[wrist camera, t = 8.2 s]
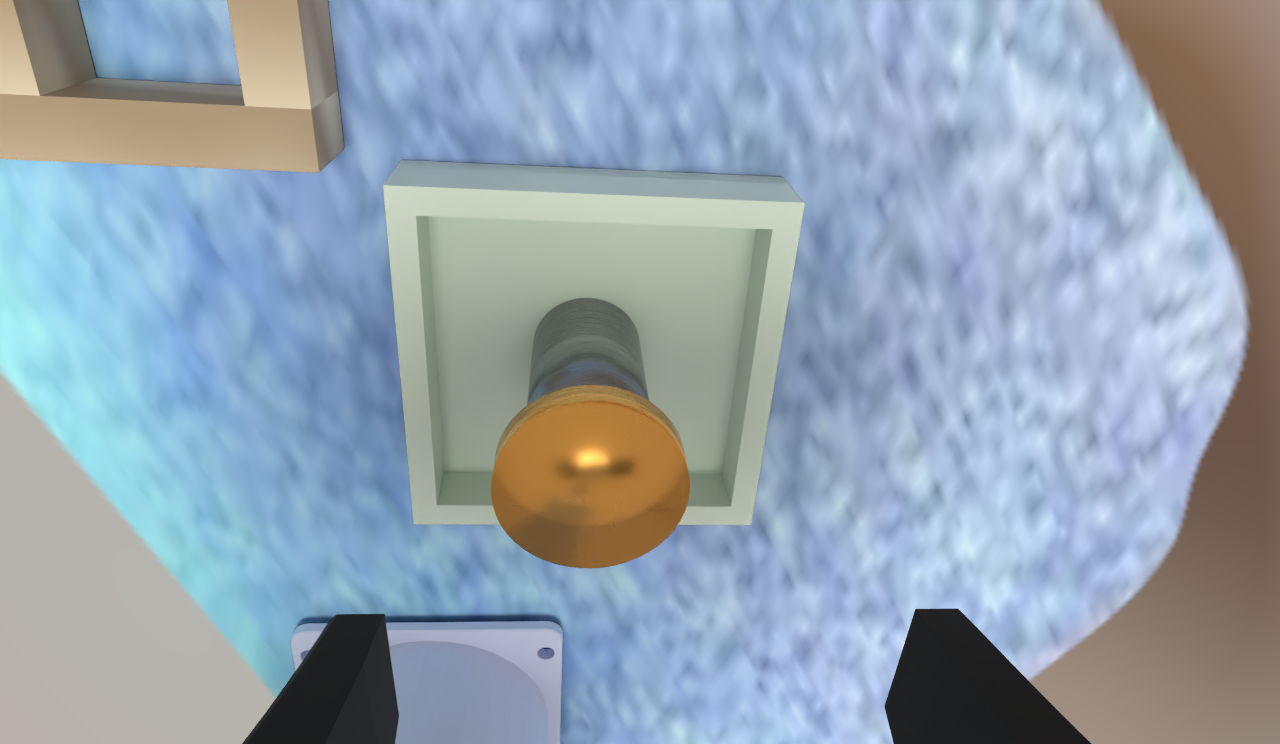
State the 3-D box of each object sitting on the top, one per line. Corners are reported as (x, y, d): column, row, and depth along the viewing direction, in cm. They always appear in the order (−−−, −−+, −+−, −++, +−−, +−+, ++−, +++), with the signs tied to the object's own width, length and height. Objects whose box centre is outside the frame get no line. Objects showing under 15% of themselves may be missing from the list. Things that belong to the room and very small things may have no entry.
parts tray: (737, 478, 23) (750, 525, 21) (426, 476, 22) (413, 524, 20) (782, 177, 18) (804, 202, 17) (401, 159, 18) (382, 185, 16)
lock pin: (656, 408, 21) (683, 565, 16) (515, 410, 20) (496, 570, 15) (663, 278, 19) (696, 407, 14) (509, 277, 19) (485, 409, 14)
